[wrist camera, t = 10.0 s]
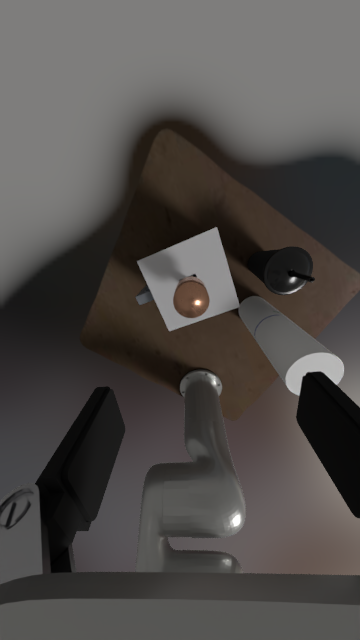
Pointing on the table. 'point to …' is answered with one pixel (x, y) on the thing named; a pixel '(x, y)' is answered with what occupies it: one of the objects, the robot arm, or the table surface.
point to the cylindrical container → (287, 344)
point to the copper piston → (191, 297)
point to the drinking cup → (282, 269)
